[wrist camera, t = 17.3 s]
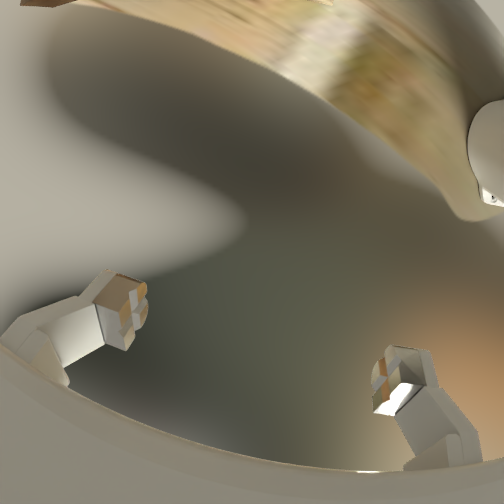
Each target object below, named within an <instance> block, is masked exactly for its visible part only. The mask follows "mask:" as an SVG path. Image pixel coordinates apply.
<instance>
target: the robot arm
mask: <svg viewBox="0 0 504 504" xmlns="http://www.w3.org/2000/svg"><path fill="white" fill-rule="evenodd" d="M468 156H469V161H470V164H471V167H472V170H473V172H474V174H475V176H476V178H477V180H478V183H479V192H480V197H481V200H482V201H484V202H485V203H487V204H492V205H497V206H502V207H504V99H503V100H500V101H494V102H490V103H488V104H486V105H485V106H483V107H482V108H481V109H480V110H479V111H478V113H477V114H476V115H475V117H474V119H473V121H472V124H471V127H470V130H469V135H468ZM492 195H493V198H492ZM146 293H147V286H146V283H144V282H142V281H139V280H136V279H133V278H131V277H128V276H125V275H122V274H119V273H116V272H113V271H111V270H108V269H106V270H103V271H102V272H101V273H100V274H99V276H98V277H97V278H96V279H95V280H94V281H93V282H92V283H91V284H90V285H89V286H88V287H87V288H86V289H85V291H84V292H83V293H82V294H81V295H80V296H79V297H76V296H74V297H71V298H68V299H65V300H62V301H60V302H57V303H54V304H51V305H49V306H46V307H43V308H41V309H38V310H35V311H32V312H30V313H27V314H24V315H22V316H19V317H18V318H17V319H16V320H15V321H14V323H13V324H12V325H11V326H10V327H9V328H8V329H7V330H6V332H5V333H4V334H3V335H2V336H1V337H0V504H504V457H503V458H499V459H495V460H490V461H485V462H483V459H482V453H481V448H480V441H479V436H478V431H477V430H476V429H475V428H474V426H473V425H472V424H471V422H470V421H469V420H468V419H467V418H466V416H465V415H464V414H463V412H462V411H461V410H460V409H459V407H458V406H457V405H456V404H455V403H454V401H453V400H452V399H451V398H450V396H449V395H448V394H447V393H446V392H445V390H444V389H443V388H439V384H438V380H437V376H436V372H435V368H434V364H433V360H432V357H431V353H430V352H429V351H428V350H422V349H414V348H408V347H403V346H397V345H390V346H389V347H388V348H387V349H386V350H385V357H384V358H382V359H380V360H378V362H377V363H376V364H375V366H374V368H373V371H372V376H371V385H372V387H373V389H374V390H375V391H376V392H375V393H374V395H373V396H372V402H373V413H379V414H388V415H394V418H395V420H396V421H397V423H398V425H399V427H400V429H401V430H402V432H403V434H404V436H405V438H406V439H407V441H408V443H409V445H410V447H411V449H412V450H413V452H414V454H415V456H416V457H414V458H413V459H411V460H409V461H408V462H406V463H405V464H404V466H403V467H404V468H403V469H404V471H353V470H337V469H325V468H315V467H307V466H299V465H293V464H286V463H280V462H274V461H269V460H264V459H258V458H253V457H249V456H245V455H240V454H236V453H232V452H228V451H224V450H220V449H217V448H212V447H209V446H206V445H202V444H199V443H196V442H193V441H189V440H186V439H183V438H180V437H177V436H174V435H171V434H169V433H166V432H163V431H160V430H158V429H155V428H152V427H150V426H147V425H145V424H142V423H140V422H137V421H135V420H133V419H130V418H128V417H125V416H123V415H121V414H119V413H117V412H115V411H112V410H110V409H108V408H106V407H104V406H102V405H100V404H98V403H95V402H94V401H91V400H90V399H88V398H86V397H84V396H82V395H80V394H78V393H77V392H75V391H73V390H71V389H69V388H68V387H67V386H68V384H69V378H68V376H67V374H66V372H65V371H64V369H63V368H64V367H66V366H67V365H69V364H71V363H73V362H74V361H76V360H78V359H79V358H81V357H83V356H85V355H87V354H88V353H90V352H92V351H94V350H95V349H97V348H99V347H100V346H102V345H104V344H105V343H107V344H109V345H112V346H114V347H117V348H119V349H122V350H125V351H127V349H128V348H129V346H130V344H131V343H132V341H133V340H134V338H135V333H134V331H135V330H137V329H139V328H141V327H142V325H143V324H144V322H145V319H146V316H147V313H148V302H147V300H146V299H145V297H144V296H145V294H146Z"/></svg>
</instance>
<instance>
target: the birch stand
mask: <svg viewBox="0 0 504 504" xmlns="http://www.w3.org/2000/svg"><path fill="white" fill-rule="evenodd" d="M308 1H313V2H318V3H323V4H327V5H331V6H332V4H333V0H308Z"/></svg>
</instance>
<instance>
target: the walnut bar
mask: <svg viewBox="0 0 504 504" xmlns="http://www.w3.org/2000/svg"><path fill="white" fill-rule="evenodd" d="M73 1H76V0H21V3H20V6H40V7H52V8H53V7H56V6H59V5H63V4H66V3H69V2H73Z"/></svg>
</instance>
